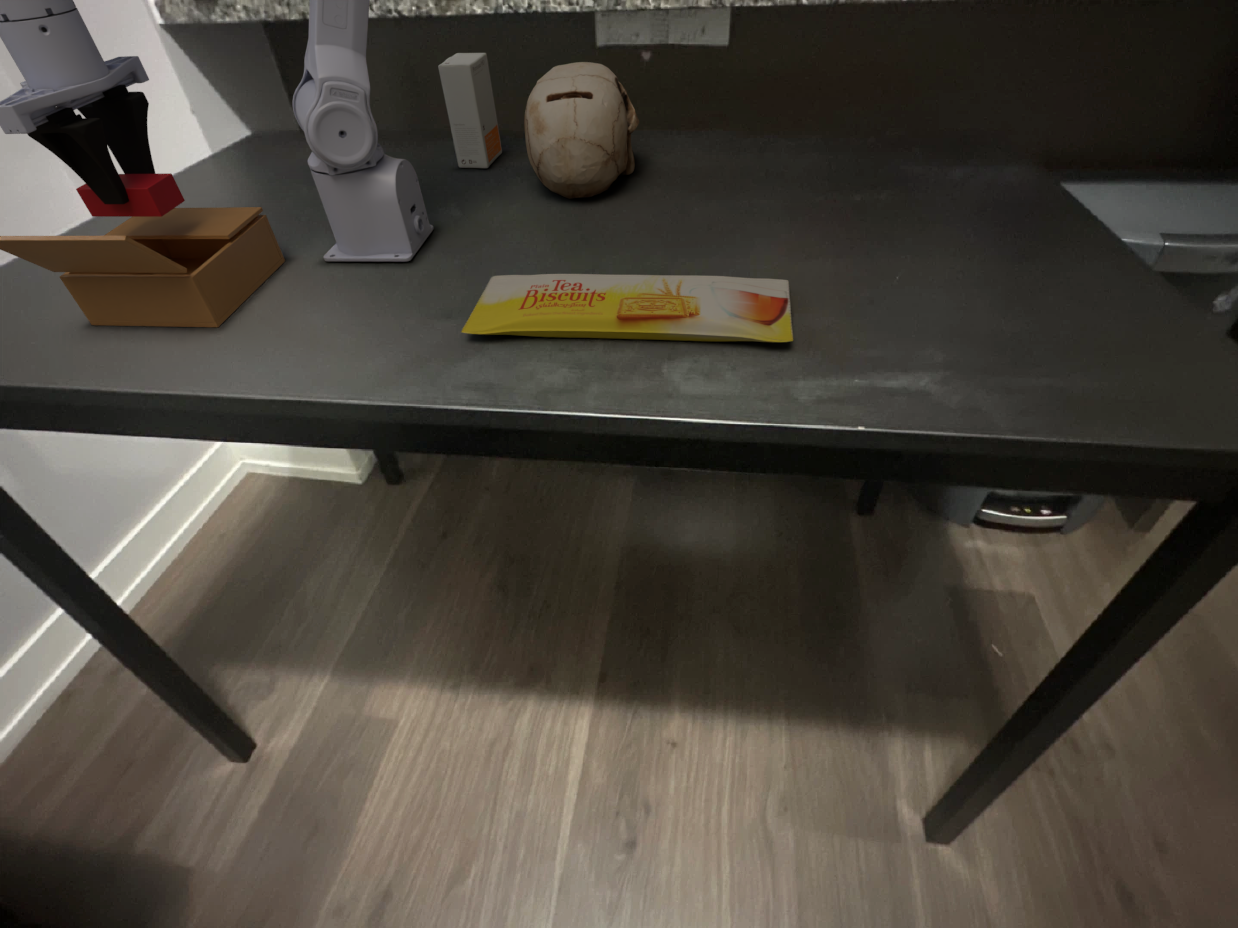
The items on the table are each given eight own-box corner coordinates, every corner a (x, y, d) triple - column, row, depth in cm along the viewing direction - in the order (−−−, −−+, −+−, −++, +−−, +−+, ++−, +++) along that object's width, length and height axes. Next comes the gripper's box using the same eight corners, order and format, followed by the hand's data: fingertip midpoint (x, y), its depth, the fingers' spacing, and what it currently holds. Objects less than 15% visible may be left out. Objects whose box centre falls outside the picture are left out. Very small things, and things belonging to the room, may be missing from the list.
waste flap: (125, 235, 52) (124, 240, 52) (187, 268, 59) (186, 273, 59) (-21, 235, 54) (-22, 240, 54) (54, 267, 60) (53, 272, 60)
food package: (456, 321, 56) (489, 264, 64) (462, 344, 58) (494, 286, 65) (795, 329, 52) (790, 267, 60) (792, 354, 54) (787, 291, 61)
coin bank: (603, 142, 92) (598, 29, 82) (676, 195, 82) (679, 75, 72) (498, 174, 87) (478, 59, 77) (561, 235, 78) (548, 112, 67)
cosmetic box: (489, 169, 88) (469, 64, 80) (458, 168, 89) (435, 65, 81) (504, 152, 92) (487, 51, 84) (474, 152, 93) (454, 52, 85)
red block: (185, 200, 63) (171, 173, 61) (162, 216, 60) (147, 188, 59) (117, 201, 64) (102, 173, 62) (92, 216, 61) (75, 188, 60)
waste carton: (285, 260, 72) (262, 206, 68) (218, 327, 62) (187, 268, 58) (173, 260, 73) (144, 207, 70) (91, 325, 64) (53, 268, 60)
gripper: (57, -2, 58) (143, 164, 67) (-95, 38, 47) (32, 228, 56) (132, -6, 57) (208, 163, 66) (-6, 34, 46) (107, 228, 55)
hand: (132, 193), depth 61 cm, fingers closed on red block, 3 cm apart
